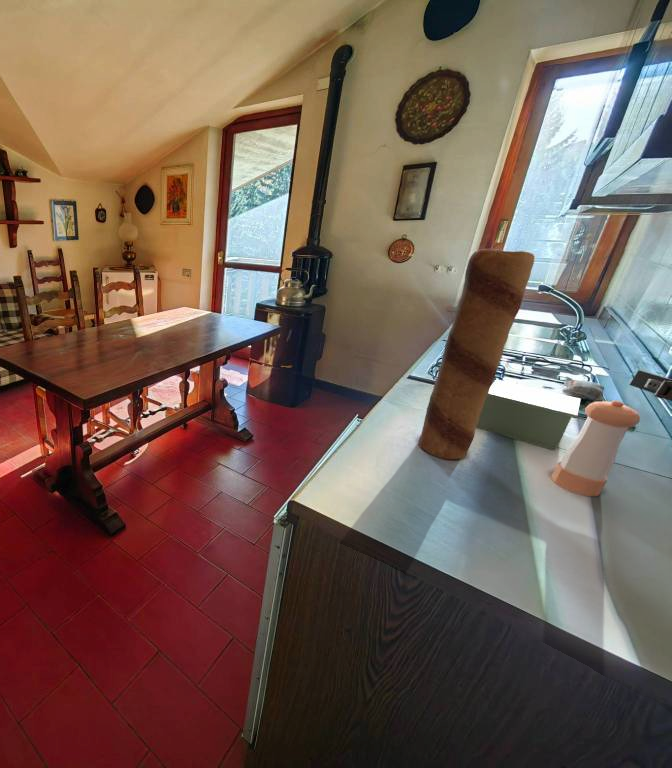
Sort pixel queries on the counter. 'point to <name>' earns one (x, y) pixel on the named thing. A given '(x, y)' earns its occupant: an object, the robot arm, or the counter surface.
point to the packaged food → (584, 390)
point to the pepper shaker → (594, 448)
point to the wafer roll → (474, 349)
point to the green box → (523, 422)
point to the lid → (535, 398)
